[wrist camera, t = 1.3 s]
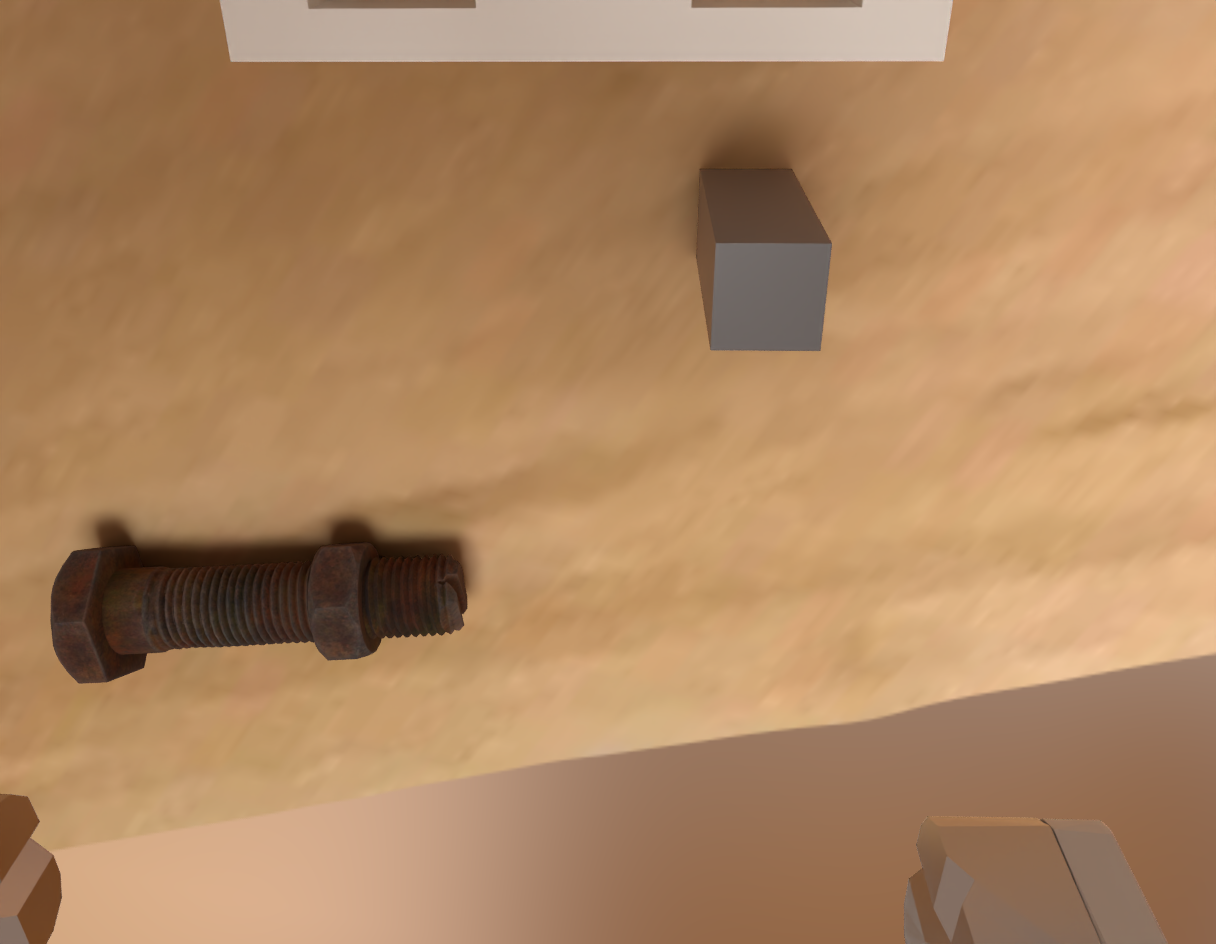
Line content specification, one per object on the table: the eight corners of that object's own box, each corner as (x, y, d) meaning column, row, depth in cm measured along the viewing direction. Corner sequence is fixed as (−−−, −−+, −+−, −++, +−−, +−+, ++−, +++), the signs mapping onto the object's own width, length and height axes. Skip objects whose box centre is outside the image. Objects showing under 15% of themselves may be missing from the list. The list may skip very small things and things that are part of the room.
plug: (696, 257, 35) (710, 350, 28) (699, 168, 33) (715, 243, 26) (784, 258, 35) (820, 351, 28) (791, 169, 33) (832, 243, 26)
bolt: (474, 554, 44) (128, 572, 44) (453, 497, 39) (70, 518, 40) (470, 685, 41) (99, 704, 41) (447, 640, 36) (32, 661, 37)
